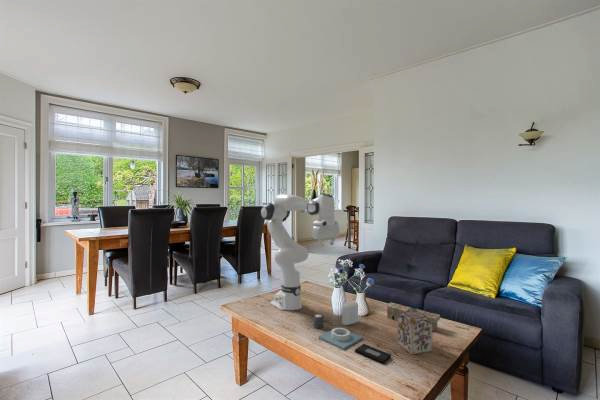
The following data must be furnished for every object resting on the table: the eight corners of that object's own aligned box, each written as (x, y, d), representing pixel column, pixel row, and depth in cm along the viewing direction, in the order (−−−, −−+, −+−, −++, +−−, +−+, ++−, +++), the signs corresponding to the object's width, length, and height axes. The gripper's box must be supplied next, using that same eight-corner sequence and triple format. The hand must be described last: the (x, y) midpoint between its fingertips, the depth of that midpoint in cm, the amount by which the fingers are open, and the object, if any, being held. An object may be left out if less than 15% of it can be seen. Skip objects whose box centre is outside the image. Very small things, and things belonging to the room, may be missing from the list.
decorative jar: (411, 355, 137) (411, 316, 137) (396, 343, 148) (396, 307, 148) (433, 351, 140) (433, 313, 140) (416, 340, 151) (417, 304, 151)
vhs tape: (363, 347, 144) (363, 343, 144) (391, 359, 134) (391, 354, 134) (354, 353, 139) (354, 349, 139) (382, 365, 129) (382, 361, 129)
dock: (318, 338, 152) (318, 331, 152) (338, 328, 164) (338, 322, 164) (343, 349, 141) (343, 342, 141) (362, 338, 152) (362, 332, 152)
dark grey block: (312, 326, 166) (312, 315, 166) (318, 324, 169) (318, 313, 169) (318, 329, 162) (318, 318, 162) (324, 327, 166) (324, 315, 166)
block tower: (385, 319, 180) (435, 333, 159) (384, 305, 180) (434, 317, 159) (391, 315, 185) (440, 328, 165) (391, 302, 185) (440, 313, 165)
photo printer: (353, 319, 176) (354, 298, 176) (359, 322, 172) (359, 301, 172) (340, 323, 170) (340, 302, 170) (345, 326, 167) (346, 304, 167)
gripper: (333, 220, 182) (333, 243, 182) (310, 222, 168) (310, 247, 168) (342, 221, 178) (342, 244, 178) (319, 223, 163) (319, 248, 164)
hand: (326, 245), depth 173 cm, fingers open, 8 cm apart
